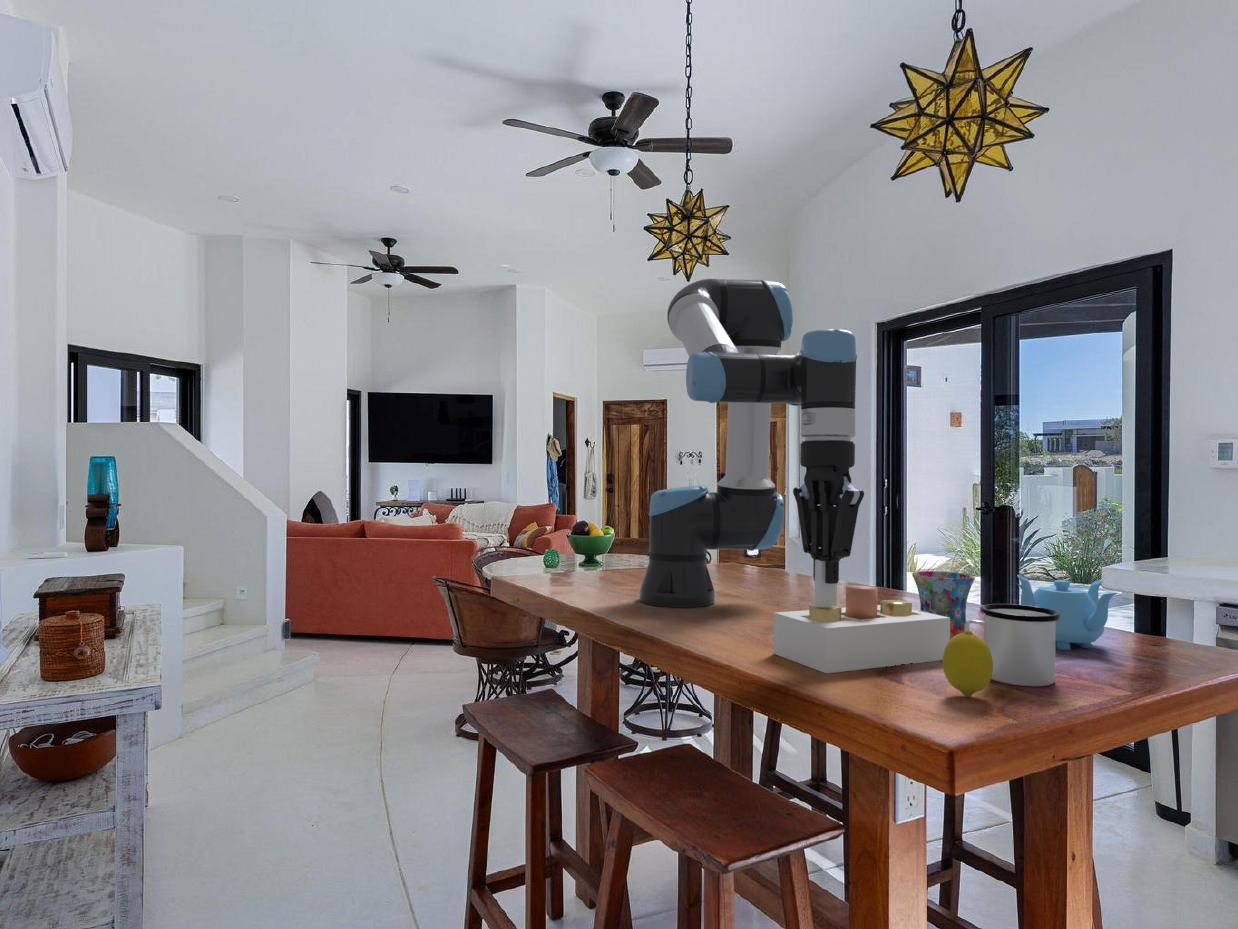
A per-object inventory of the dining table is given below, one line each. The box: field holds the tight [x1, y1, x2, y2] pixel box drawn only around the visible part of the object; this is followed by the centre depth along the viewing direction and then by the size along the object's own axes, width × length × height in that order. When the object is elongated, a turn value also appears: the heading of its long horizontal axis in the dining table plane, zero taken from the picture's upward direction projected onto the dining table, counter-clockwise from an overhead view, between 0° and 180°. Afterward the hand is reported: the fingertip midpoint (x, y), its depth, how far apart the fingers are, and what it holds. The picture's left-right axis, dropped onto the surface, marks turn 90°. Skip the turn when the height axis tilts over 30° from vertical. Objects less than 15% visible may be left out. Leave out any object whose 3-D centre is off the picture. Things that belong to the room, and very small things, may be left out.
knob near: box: [808, 604, 842, 623], centre depth 113 cm, size 4×4×5 cm
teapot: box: [1016, 574, 1118, 651], centre depth 125 cm, size 13×13×10 cm
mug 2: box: [965, 603, 1061, 688], centre depth 105 cm, size 12×10×9 cm
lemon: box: [942, 629, 993, 698], centre depth 95 cm, size 6×6×8 cm
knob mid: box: [845, 585, 879, 620], centre depth 115 cm, size 4×4×5 cm
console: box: [773, 604, 950, 674], centre depth 115 cm, size 12×22×6 cm, turn 114°
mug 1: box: [911, 570, 976, 639], centre depth 127 cm, size 12×9×11 cm
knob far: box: [879, 599, 913, 617], centre depth 118 cm, size 4×4×5 cm
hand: (825, 605), depth 113 cm, fingers closed
